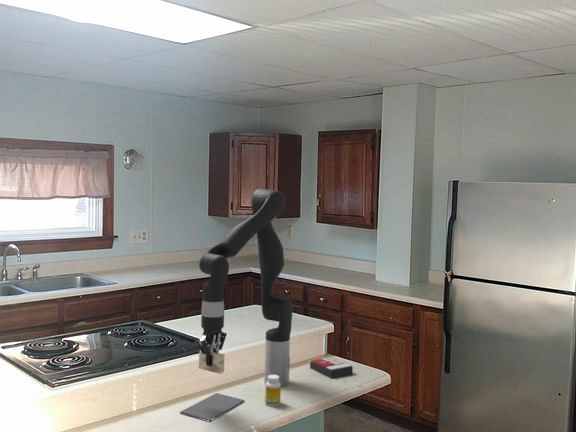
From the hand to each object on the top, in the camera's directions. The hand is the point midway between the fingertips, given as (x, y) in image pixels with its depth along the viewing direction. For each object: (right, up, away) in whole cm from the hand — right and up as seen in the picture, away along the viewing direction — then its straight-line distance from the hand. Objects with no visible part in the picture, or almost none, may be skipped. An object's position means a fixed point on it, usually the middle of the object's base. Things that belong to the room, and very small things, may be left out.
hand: (211, 364), depth 191 cm
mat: (0, -15, +1) cm, 15 cm away
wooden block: (0, -2, 0) cm, 2 cm away
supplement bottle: (+20, -15, +6) cm, 26 cm away
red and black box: (+43, -14, +43) cm, 62 cm away
